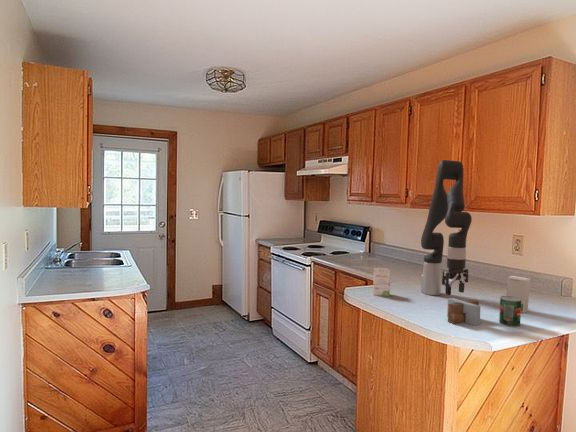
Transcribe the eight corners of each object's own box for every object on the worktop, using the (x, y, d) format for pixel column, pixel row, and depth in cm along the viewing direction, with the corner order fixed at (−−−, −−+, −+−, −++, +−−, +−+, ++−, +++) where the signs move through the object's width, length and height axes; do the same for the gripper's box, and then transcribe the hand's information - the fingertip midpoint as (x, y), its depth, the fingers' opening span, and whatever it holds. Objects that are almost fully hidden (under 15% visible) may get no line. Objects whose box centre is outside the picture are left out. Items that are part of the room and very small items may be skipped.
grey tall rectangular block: (447, 316, 180) (447, 298, 179) (451, 315, 181) (452, 297, 181) (475, 325, 167) (475, 307, 167) (479, 324, 169) (480, 306, 168)
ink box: (389, 294, 217) (390, 266, 216) (389, 296, 212) (390, 268, 211) (373, 292, 219) (374, 265, 218) (372, 295, 215) (373, 267, 214)
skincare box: (504, 309, 191) (506, 277, 190) (509, 306, 195) (511, 275, 194) (524, 313, 185) (526, 280, 184) (529, 310, 189) (530, 277, 188)
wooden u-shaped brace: (447, 322, 172) (448, 303, 171) (472, 316, 179) (472, 299, 179) (453, 324, 169) (454, 305, 168) (478, 318, 177) (478, 300, 176)
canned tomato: (523, 327, 166) (524, 301, 165) (502, 326, 167) (504, 300, 167) (515, 321, 174) (517, 296, 173) (496, 320, 175) (497, 295, 174)
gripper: (459, 254, 183) (458, 289, 184) (438, 257, 176) (436, 293, 177) (474, 257, 176) (472, 293, 178) (452, 260, 169) (450, 297, 171)
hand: (454, 293), depth 178 cm, fingers open, 8 cm apart
